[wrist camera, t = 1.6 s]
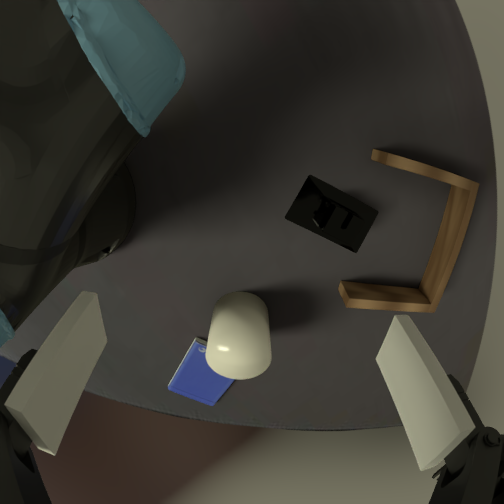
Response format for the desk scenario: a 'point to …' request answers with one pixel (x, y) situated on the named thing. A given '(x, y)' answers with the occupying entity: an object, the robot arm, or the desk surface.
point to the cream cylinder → (239, 336)
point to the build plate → (331, 214)
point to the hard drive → (198, 376)
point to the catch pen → (441, 254)
